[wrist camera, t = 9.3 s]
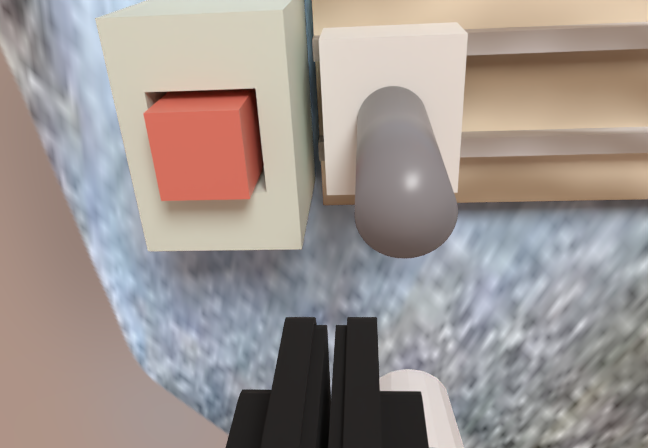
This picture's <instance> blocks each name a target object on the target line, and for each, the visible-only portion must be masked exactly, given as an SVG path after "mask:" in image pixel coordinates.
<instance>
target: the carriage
mask: <svg viewBox="0 0 648 448" xmlns="http://www.w3.org/2000/svg"><path fill="white" fill-rule="evenodd" d="M467 40H468V33H467V32H466V31H465V30H464V29H463V28H462V27H461V26H460V25H459V24H458V23H457V22H449V23H425V24H402V25H379V26H356V27H333V28H323V30H322V32H321V35H320V38H319V56H320V75H321V94H322V113H323V132H324V150H325V169H326V188H327V195H355V223H356V227H357V229H358V232H359V234H360V235H361V237H362V238H363V240H364V241H365V242H366V243H367V244H368V245H369V246H370V247H372V248H373V249H374V250H376V251H378V252H379V253H382V254H384V255H387V256H390V257H395V258H414V257H419V256H422V255H425V254H427V253H430V252H432V251H433V250H435V249H437V248H438V247H439V246H441V245H442V244H443V243H444V242H445V241H446V240H447V239H448V237H449V236H450V235H451V233H452V231H453V229H454V227H455V225H456V221H457V216H458V206H457V201H456V198H455V194H454V193H458V178H459V163H460V147H461V132H462V117H463V101H464V86H465V71H466V55H467Z"/></svg>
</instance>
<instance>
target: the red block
mask: <svg viewBox="0 0 648 448" xmlns="http://www.w3.org/2000/svg"><path fill="white" fill-rule="evenodd" d="M143 115H144V120H145V124H146V129H147V134H148V139H149V144H150V149H151V154H152V159H153V164H154V169H155V173H156V178H157V183H158V188H159V193H160V198H161V201H185V200H236V199H250V198H251V195H252V193H253V191H254V188H255V186H256V183H257V181H258V178H259V176H260V174H261V171H262V169H263V166H264V163H263V154H262V145H261V135H260V126H259V117H258V107H257V98H256V89H255V88H253V89H224V90H196V91H169V92H167V93H166V94H165V95H164V96H163V97H162V98H160V99H159V100H158V101H157V102H156V103H155V104H153V105H152V106H151V107H150V108H149V109H148V110H146V111H145V112H144V113H143Z"/></svg>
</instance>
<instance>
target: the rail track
mask: <svg viewBox="0 0 648 448" xmlns="http://www.w3.org/2000/svg"><path fill="white" fill-rule="evenodd" d="M312 12H313V30H314V36H313V39H312V45H313V61H315V65H316V83H317V100H318V118H319V141H318V148H319V161H321V171H322V189H323V205H355V195H327V188H326V169H325V150H324V132H323V113H322V94H321V75H320V56H319V38H320V35H321V32H322V30H323V28H333V27H356V26H379V25H402V24H425V23H449V22H457V23H458V24H459V25H460V26H461V27H462V28H463V29H464V30H465V31H466V32H467V33H468V40H467V55H466V71H465V86H464V101H463V117H462V132H461V147H460V163H459V178H458V193H454V194H455V198H456V201H457V203H467V202H521V201H575V200H629V199H648V0H312Z"/></svg>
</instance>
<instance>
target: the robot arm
mask: <svg viewBox="0 0 648 448" xmlns="http://www.w3.org/2000/svg"><path fill="white" fill-rule="evenodd" d="M226 448H429V444H428V437H427V429H426V421H425V414H424V406H423V399H422V394H421V391H380V384H379V359H378V334H377V317H348V318H347V325H336V331H335V347H334V363H333V379H332V395H331V391H330V372H329V352H328V333H327V325H316V318H315V317H286V319H285V322H284V327H283V333H282V338H281V343H280V348H279V354H278V359H277V364H276V369H275V374H274V380H273V385H272V390H242V391H241V393H240V396H239V399H238V402H237V406H236V410H235V414H234V418H233V421H232V425H231V429H230V433H229V437H228V441H227V445H226Z"/></svg>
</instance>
